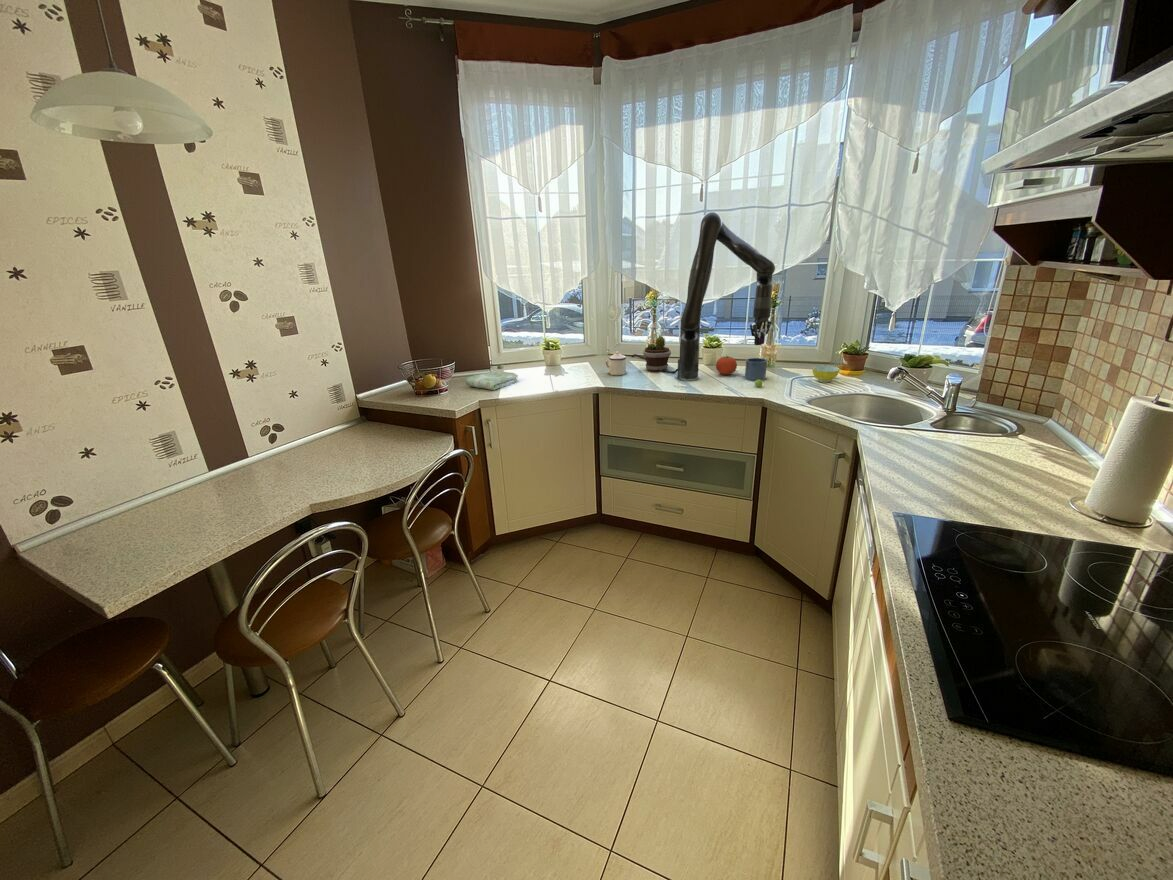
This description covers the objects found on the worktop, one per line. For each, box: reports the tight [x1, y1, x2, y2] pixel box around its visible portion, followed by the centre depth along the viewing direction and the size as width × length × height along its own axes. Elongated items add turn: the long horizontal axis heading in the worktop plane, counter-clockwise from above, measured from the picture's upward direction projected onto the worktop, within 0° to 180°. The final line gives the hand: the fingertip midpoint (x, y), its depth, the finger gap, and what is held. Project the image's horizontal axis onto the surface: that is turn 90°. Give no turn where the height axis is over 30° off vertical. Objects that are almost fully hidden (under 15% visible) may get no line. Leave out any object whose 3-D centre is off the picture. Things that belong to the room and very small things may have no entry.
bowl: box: [812, 365, 841, 383], centre depth 220 cm, size 11×12×6 cm
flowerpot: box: [642, 334, 672, 373], centre depth 254 cm, size 14×15×20 cm
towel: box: [465, 370, 519, 391], centre depth 244 cm, size 18×21×5 cm
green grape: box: [754, 380, 764, 388], centre depth 217 cm, size 3×3×3 cm
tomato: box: [715, 355, 738, 376], centre depth 240 cm, size 10×10×10 cm
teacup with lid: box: [605, 351, 627, 376], centre depth 253 cm, size 12×9×12 cm
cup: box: [744, 357, 768, 382], centre depth 231 cm, size 9×9×9 cm
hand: (759, 344), depth 224 cm, fingers closed on purple grape, 3 cm apart
